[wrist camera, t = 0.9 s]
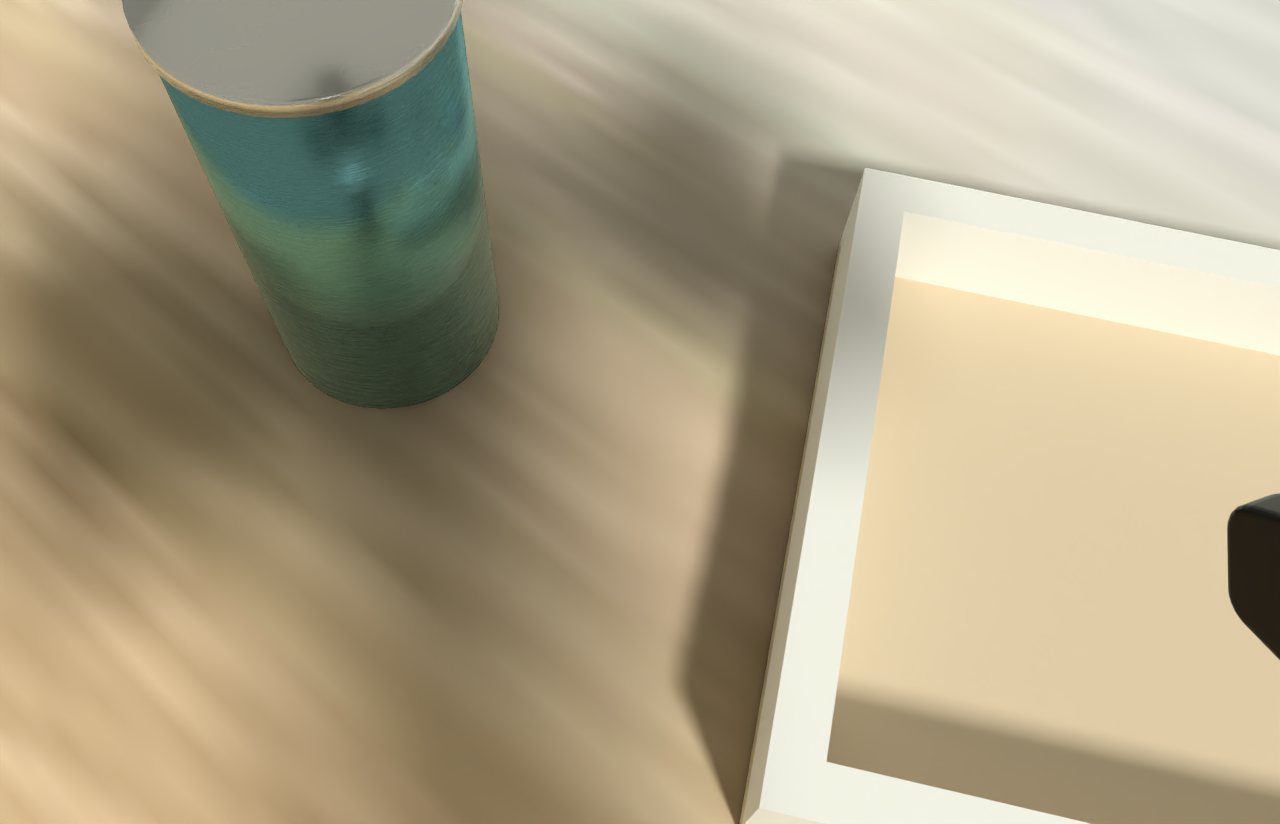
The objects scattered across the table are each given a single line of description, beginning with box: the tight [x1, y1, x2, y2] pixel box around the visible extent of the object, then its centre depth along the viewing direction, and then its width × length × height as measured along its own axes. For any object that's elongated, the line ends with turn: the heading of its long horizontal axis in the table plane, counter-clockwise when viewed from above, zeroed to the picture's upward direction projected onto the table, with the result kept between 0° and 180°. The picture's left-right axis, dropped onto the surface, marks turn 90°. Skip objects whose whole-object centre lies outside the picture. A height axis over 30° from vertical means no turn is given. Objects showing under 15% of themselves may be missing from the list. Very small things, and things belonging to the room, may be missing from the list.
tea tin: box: [122, 0, 499, 408], centre depth 22 cm, size 5×5×10 cm
